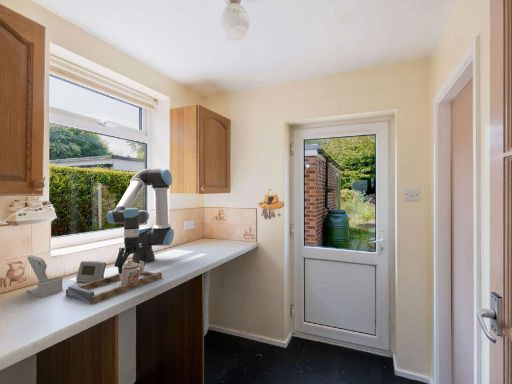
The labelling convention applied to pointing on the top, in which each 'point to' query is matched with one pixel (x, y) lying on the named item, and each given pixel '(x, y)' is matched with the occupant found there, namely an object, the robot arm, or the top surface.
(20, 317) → the top surface
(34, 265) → the phone holder
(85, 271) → the digital clock
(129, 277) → the teacup with lid
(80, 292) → the open rectangular wooden frame
